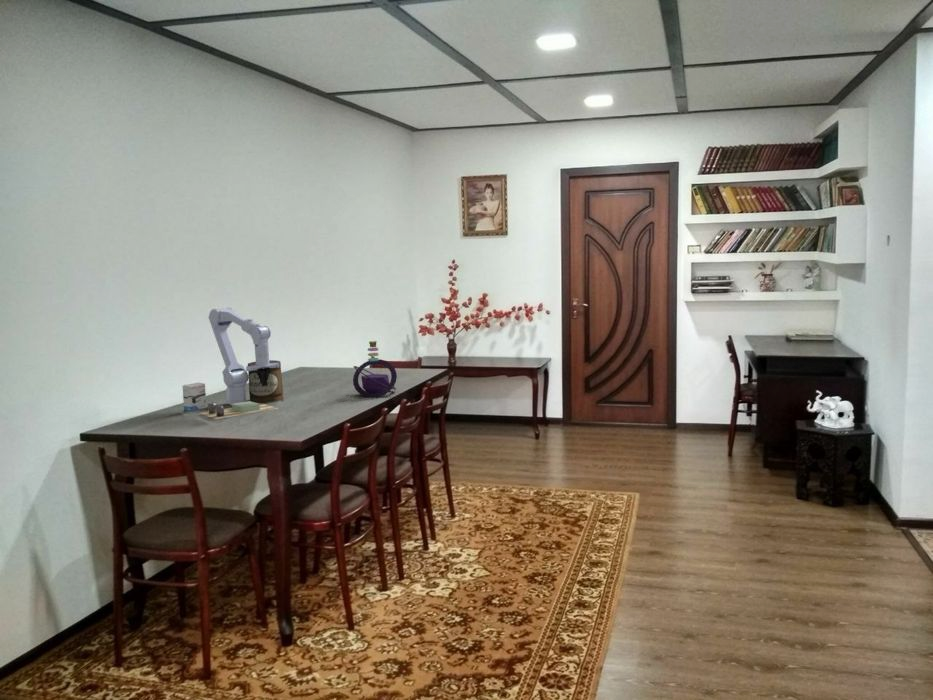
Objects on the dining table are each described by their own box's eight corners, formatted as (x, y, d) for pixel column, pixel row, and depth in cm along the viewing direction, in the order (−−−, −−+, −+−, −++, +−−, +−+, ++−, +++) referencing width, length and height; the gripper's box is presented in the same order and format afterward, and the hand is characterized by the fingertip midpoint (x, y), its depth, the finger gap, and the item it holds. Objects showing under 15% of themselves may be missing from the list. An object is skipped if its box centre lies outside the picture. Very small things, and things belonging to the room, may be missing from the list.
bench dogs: (207, 413, 321) (207, 403, 321) (214, 412, 323) (213, 402, 323) (218, 416, 313) (217, 407, 313) (225, 415, 315) (224, 406, 315)
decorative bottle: (344, 397, 353) (341, 344, 350) (361, 389, 373) (358, 338, 370) (390, 398, 347) (388, 343, 344) (405, 390, 368) (403, 338, 365)
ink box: (191, 413, 328) (189, 386, 327) (183, 412, 331) (181, 385, 329) (207, 409, 335) (205, 382, 334) (199, 408, 338) (197, 382, 336)
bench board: (198, 415, 323) (198, 413, 323) (260, 405, 341) (260, 403, 341) (216, 421, 309) (215, 419, 309) (279, 410, 327) (279, 408, 327)
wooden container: (245, 405, 342) (242, 356, 339) (255, 399, 357) (252, 352, 354) (278, 404, 342) (275, 355, 339) (287, 398, 356) (284, 351, 354)
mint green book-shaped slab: (232, 409, 328) (231, 403, 328) (249, 406, 333) (249, 401, 333) (242, 412, 320) (241, 406, 320) (259, 409, 326) (259, 403, 325)
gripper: (250, 357, 322) (252, 388, 324) (281, 353, 331) (283, 384, 333) (243, 355, 327) (245, 387, 329) (274, 352, 337) (276, 382, 338)
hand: (264, 385), depth 331 cm, fingers closed
